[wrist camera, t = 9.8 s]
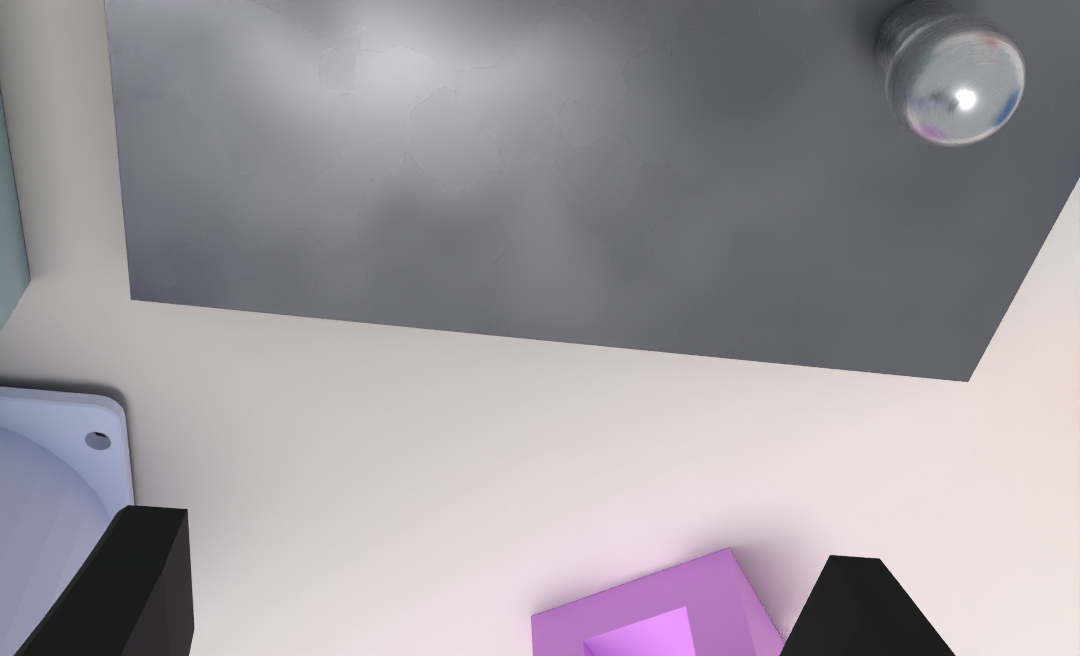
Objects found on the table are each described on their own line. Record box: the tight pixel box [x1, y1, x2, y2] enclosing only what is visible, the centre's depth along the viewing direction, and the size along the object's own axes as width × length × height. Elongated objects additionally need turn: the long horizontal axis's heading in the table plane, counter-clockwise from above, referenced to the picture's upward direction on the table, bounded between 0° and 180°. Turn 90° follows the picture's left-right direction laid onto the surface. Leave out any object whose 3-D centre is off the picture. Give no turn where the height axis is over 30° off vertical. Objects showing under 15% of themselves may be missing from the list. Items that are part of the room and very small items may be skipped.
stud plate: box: [104, 0, 1080, 382], centre depth 16 cm, size 14×17×3 cm
